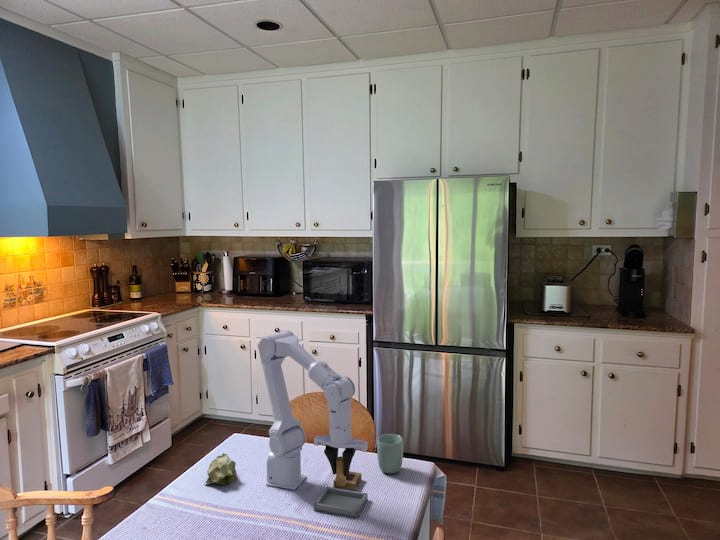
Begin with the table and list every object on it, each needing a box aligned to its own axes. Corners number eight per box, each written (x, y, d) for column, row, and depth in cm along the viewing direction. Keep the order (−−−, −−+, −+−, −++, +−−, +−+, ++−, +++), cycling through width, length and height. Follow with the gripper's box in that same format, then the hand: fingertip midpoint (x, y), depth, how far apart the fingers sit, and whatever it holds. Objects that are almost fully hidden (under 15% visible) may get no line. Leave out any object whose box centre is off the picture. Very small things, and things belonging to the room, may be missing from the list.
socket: (333, 487, 138) (333, 480, 138) (341, 476, 144) (341, 470, 144) (354, 490, 136) (354, 484, 136) (361, 479, 142) (361, 473, 142)
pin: (335, 485, 128) (334, 460, 127) (338, 480, 130) (337, 455, 130) (344, 487, 127) (343, 461, 126) (347, 482, 129) (346, 457, 129)
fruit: (214, 476, 147) (218, 450, 148) (242, 483, 145) (245, 455, 146) (197, 486, 138) (202, 458, 139) (227, 493, 136) (231, 464, 137)
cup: (401, 478, 143) (401, 445, 142) (375, 475, 144) (375, 443, 143) (404, 465, 150) (404, 434, 150) (379, 463, 152) (379, 432, 151)
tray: (314, 510, 126) (313, 504, 126) (326, 492, 135) (326, 486, 135) (357, 518, 123) (357, 511, 123) (367, 499, 131) (367, 493, 131)
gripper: (370, 421, 129) (371, 470, 130) (320, 415, 133) (321, 463, 134) (362, 431, 122) (363, 483, 123) (310, 425, 126) (311, 475, 127)
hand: (340, 473), depth 128 cm, fingers closed on pin, 3 cm apart
